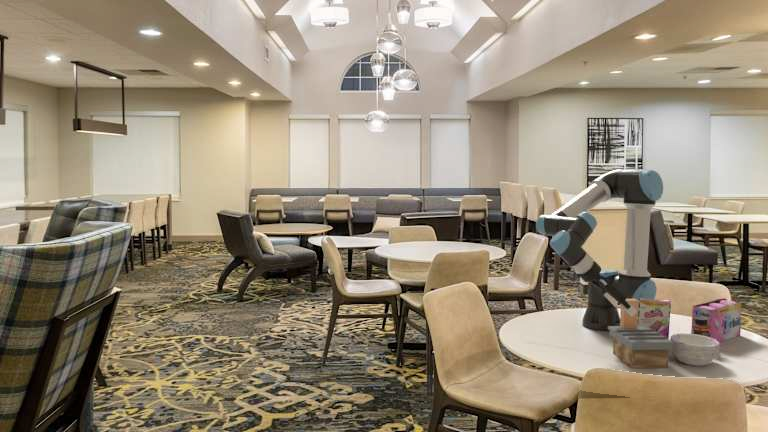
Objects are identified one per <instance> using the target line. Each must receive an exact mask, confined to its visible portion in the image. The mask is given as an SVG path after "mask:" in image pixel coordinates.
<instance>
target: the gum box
mask: <svg viewBox="0 0 768 432" xmlns="http://www.w3.org/2000/svg"><path fill="white" fill-rule="evenodd" d="M691 313H692V315H691V325H692V324H693V323H695V318H696V317H702V318H707V324H708V325H709V326H710V338H713V339H715V340H717V341H718V342H719V343H721V342H724V341H727V340H731V339H733V338H737V337H740V336H741V329H742V327H741V324H742V301H738V302H736V301H734V300H733V301H732V300H728V299H727V298H724V297H723V298H719V299H715V300H711V301H708V302H704V303H703V302H702V303H700V304H699V303H698V304H695V305H693V306H692V312H691ZM690 334H692V329H691V333H690Z"/></svg>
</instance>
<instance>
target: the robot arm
mask: <svg viewBox="0 0 768 432" xmlns="http://www.w3.org/2000/svg"><path fill="white" fill-rule="evenodd" d="M663 193H664V182H663V179H662V177H661V175H660V173H658V172H657V171H655V170H653V169H644V168H643V169H639V168H638V169H637V168H634V169H633V168H628V169H627V168H626V169H625V168H617V169H614V170H610V171H608V172H606V173H603V174H602V175H600V176H598V177H597V178H595V179H593V180H592V181H591V182H590V184H589V186H588V187H587V188H585V189H584V190H582V191H581V192H580V193H578V195H576V196H574V197H573V198H572V199H570V200H568V201H567V202H566V203H565V204H563V205H562V206H560V207H559V208H558V209H557V210H555V211H554V212H553V213H551V214H542V215H539V216H538V217H537V219H536V222H535V228H536V231H537V233H539V234H541V235H544V236H551V237H552V238H551V239H550V241H549V245H550V247H551V248H552V250H554V251H555V253H556V254H557V255H558V256H559V257H560V258H561V259H562V260H563V261H564V262H565V263H566V264H567V265H568V266H569V267H570V271H571V272H573V271H574V273H576V274H577V275H578V276H579V278H580V279H581V280H582V281H583V282H585V283H587V306H586V309H585V312H584V314H583V317H582V322H581V323H582V324H581V325H582V326H583V327H585V328H587V329H591V330H597V331H609V330H608V326H620V314H619V310H618V306H620V308H621V307H622V308H623V309H624V310H625V311H626V312H627V313H628V314H629V315H630V316H631V317H632V316H633V315H634V314H635V313H637V312H638V311H637V310H636V309H635V308H634V307H633V306H632V305H631V304H630V303H629V302H628V301H627V300H626V299H636V300H638V298H647V299H656V295H657V285H656V282H655V281H653V279H652V278H651V277H652V276H651V275H652V274H651V273H650V272H649V270H648V258H649V247H650V246H649V242H650V230H651V229H650V228H651V227H650V226H651V215H652V214H651V212H652V209H653V208H654V207H655V206H656V202H657V201H659V200H660V199H661V198H662V195H663ZM612 199H623V205H625V207H626V223H625V237H624V238H625V239H624V254H623V257H624V258H623V268H622V269H621V270H620V271H618V270H616V269H602V267H601V266H600V265H599V263H597V261H595V260H594V259H593V258H592V256H591V255H590V254H589V253H588V252H587V251H586V249H584V247H583V246H584V245H585V243H586V242H587V240H588V239H589V237H590V236H591V235H592V234H593V232H594V230H595V229H596V227H597V225H598V221H597V219H596V217H595V216H594V215H593V214H592V213H590V212H589V211H591V210H593V208H595V207H597V205H599V204H601V203H606V202H607V201H609V200H612Z"/></svg>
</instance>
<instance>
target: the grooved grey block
mask: <svg viewBox="0 0 768 432" xmlns="http://www.w3.org/2000/svg"><path fill="white" fill-rule="evenodd" d="M626 300H627V301H628V302H629V303H630V304H631V305H632V306H633V307H634V308H635V309H636V310H637V311H638V302H639V301H638V300H636V299H626ZM619 317H620V326H608V330H607V331H609V336H611V337H613V339H614V338H615V339H617V340H618V341H620V342H621V343H622V344H624V345H625V346H627V347H628V348H630V349H631V350H669V351H670V350H672V349H673V345H674V342H673V341H671V340H670V339H668V338H667V337H664V336H662V335H661V334H660V333H657V332H656V331H654V329H650V328H649V327H647V326H638V312H637V313H635V314H634V315H633V316H632V317H631V316H630V315H629V314H628V313H627V312H626V311H625V310H624V309H623V308H622V307H621V306H620V315H619Z"/></svg>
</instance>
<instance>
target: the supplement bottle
mask: <svg viewBox="0 0 768 432" xmlns="http://www.w3.org/2000/svg"><path fill="white" fill-rule="evenodd" d="M691 330H692V334H696V335H702V336H706V337H710V326H709V325H708V324H707V318H702V317H696V318H695V323H693V324H692V323H691Z"/></svg>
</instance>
